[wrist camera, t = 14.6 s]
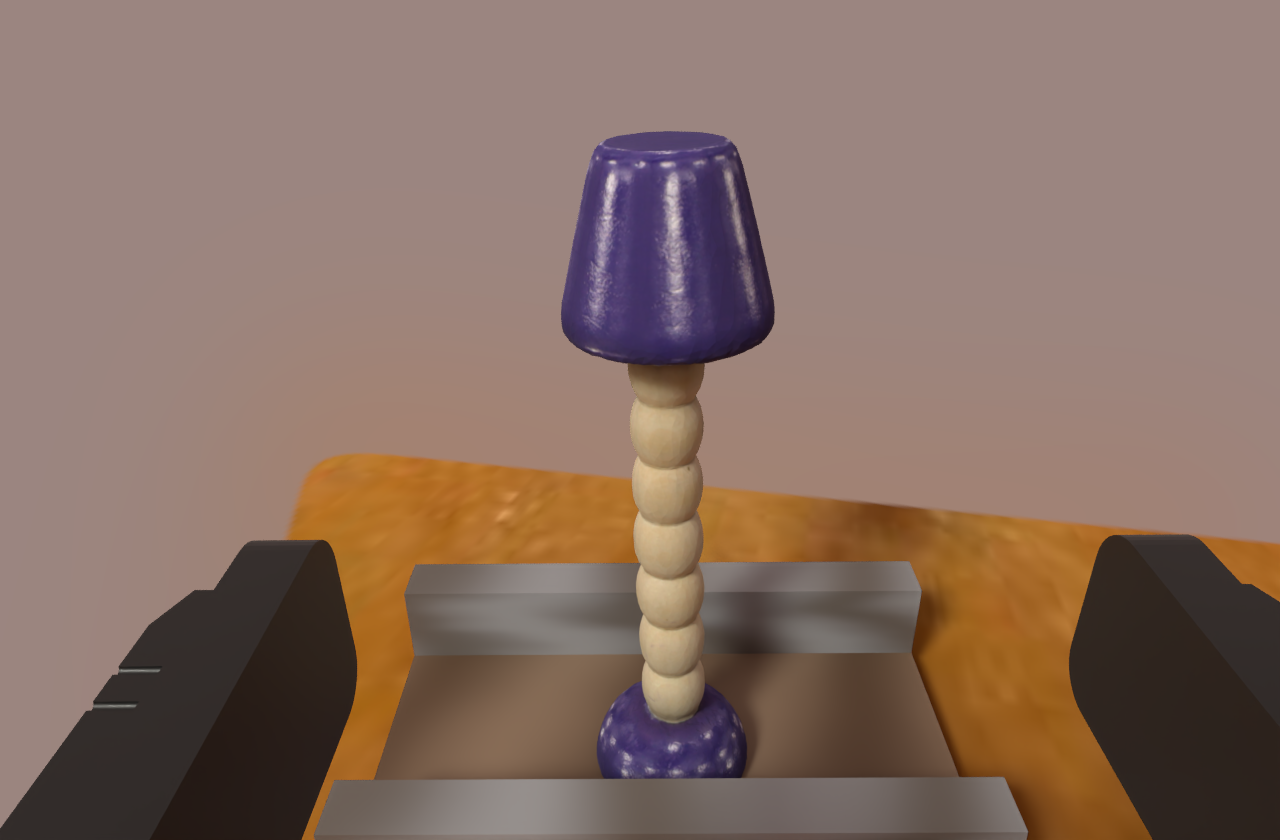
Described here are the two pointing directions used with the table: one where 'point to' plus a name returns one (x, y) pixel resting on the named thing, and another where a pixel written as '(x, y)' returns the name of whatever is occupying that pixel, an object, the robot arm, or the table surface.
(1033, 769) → the table surface
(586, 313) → the toy lamp
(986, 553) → the table surface
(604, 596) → the track board
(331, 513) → the table surface
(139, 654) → the robot arm
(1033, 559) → the table surface
